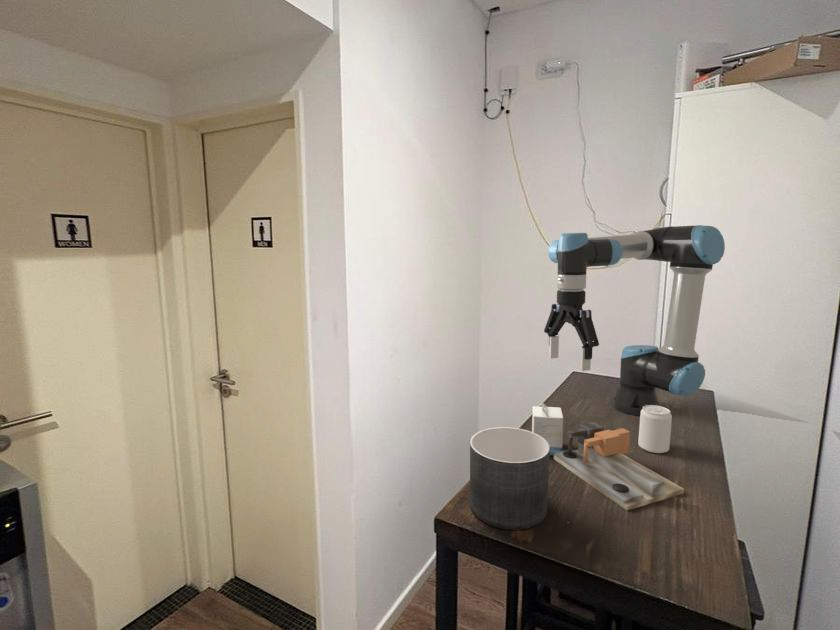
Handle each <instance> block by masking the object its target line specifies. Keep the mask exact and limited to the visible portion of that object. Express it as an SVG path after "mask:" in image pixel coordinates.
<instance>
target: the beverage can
mask: <svg viewBox="0 0 840 630" xmlns="http://www.w3.org/2000/svg"><path fill="white" fill-rule="evenodd" d="M672 419H673V416H672V413H671V410H670V409H669V408H667V407H664V406H661V405H660V406H656V405H646V406H644V407H643V409H642V410H641V413H640V416H639V428H638V439H637V440H638V443H637V444H638V446H639V447H640V448H641V449H642V450H644V451H647V452H650V453H653V454H654V453H655V454H663V453H667V452H669V450H670V444H671V434H672V433H671V431H672Z"/></svg>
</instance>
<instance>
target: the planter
mask: <svg viewBox="0 0 840 630" xmlns="http://www.w3.org/2000/svg"><path fill="white" fill-rule="evenodd" d="M550 456H551V455H550V446H549V444H548V442H547V441H546V440H545V439H544V438H543V437H541V436H539V435H538V434H535V433H533V432H532V431H531V430H528V429H523V428H519V427H508V426H503V427H502V426H499V427H498V426H497V427H490V428H485V429H482V430H480V431H478V432H476V433H474V434H473V435H472V436H471V438H470V440H469V507H470V510H471V512H472V513H473V514H474V516H475V517H476V518H477V519H479V520H480V521H482V522H483V523H485V524H487V525H488V526H492V527H495V528H497V529H503V530H510V531H520V530H521V531H523V530H527V529H531V528H534V527H536V526H538V525H540V524H541V523H542V522H543V521H544V520H545V519H546V518H547V515H548V494H549V493H548V491H549V479H550V478H549V477H550V475H549V473H550Z"/></svg>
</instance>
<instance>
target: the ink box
mask: <svg viewBox="0 0 840 630" xmlns="http://www.w3.org/2000/svg"><path fill="white" fill-rule="evenodd" d="M562 411H563V410H562V408H561V407H559V406H558V407H556V406H555V407H554V406H547V405H546V404H545V403H544V402H543V401H540V406H538V405H536V406H535V405H534V406H532V414H531V416H532V421H531V432H533V433H535V434H538V435H539V436H541V437H543V438H544V439H545V440H546V441H547V442H548V444H549V446H550V456H552V457H554V452H559V451H563V450H564V449H563V447H564V446H563V443H564V441H563V440H564V415H563V412H562Z"/></svg>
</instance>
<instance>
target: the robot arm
mask: <svg viewBox="0 0 840 630" xmlns="http://www.w3.org/2000/svg"><path fill="white" fill-rule="evenodd" d="M725 249H726V248H725V239H724V237H723V235H722V233H721V231H720V230H719V228H717V227H715V226H712V225H702V224H700V225H699V224H697V225H678V226H664V227H658V228H653V229H647V230H639V231H636V232H634V233H633V234H626V235H612V236H611V235H610V236H597V237H595V236H594V237H589V236H588V234H587V232H570V233H569V232H567V233H565V232H564V233H561V234H560V235H559V237H558V239H556V240H554V241H552V242H551V243H550V245H549V247H548V250H547V251H548V253H547V254H548V258H549V259H550V261H551V262H553V263H554V264H557V282H556V283H557V288H558V290H557V291H556V303H552V304H551V308H550V313H549V316H548V319H547V321H546V323H545V327H544V330H543V333H544V334H547V336H548V347H549V351H548V359H551V360H553V359H558V358H559V351H560V350H559V347H560V346H559V345H560V344H559V343H560V341H559V340H560V336H559V332H560V331H561V330H562V328H564V325H565V324H566V323H568V324H570V325H571V326H572V327H574V329H575V331H576V333H577V336H578V337H579V340H580V342H581V344H582V346H581V347H580V371H581V372H586V371H591V364H592V363H591V362H592V358H593V348H594V347H599V346H600V343H599V340H598V335H597V331H596V328H595V325H594V322H593V319H592V310H590V309H583V306H584V305H585V304H586V293H587V292H586V290H585V289H587V269H588V268H589V267H593V268H594V267H608V266H609V267H610V266H614V265H616V264H618V263H619V262H620V261H621V260H622V259H632V258H634V259H635V260H638V261H642V260H647V261H659V262H666V263H667V262H668V263H669V269H671V270H672V272H673V277H672V278H673V279H672V285H671V294H670V300H669V307H668V315H667V321H666V322H667V323H666V329H665V337H664V343H663V346H661V347H658V346H656V345H650V344H649V345H647V344H642V345H641V344H640V345H639V344H638V345H637V344H636V345H628V346H625V347H624V348H622V350H621V356H620V372H619V373H620V374H619V386H618V388H617V390H616V393H615V396H614V397H613V402H612V405H613V407H614V409H615V410H617V411H618V412H619V411H620V412H621V413H624V414H627V415H631V416H632V415H633V416H639V417H640V413H641V410H642V409H643V407H644V406H646V405H656V406H661V405H660V403H659V400H658V395H657V391H656V388H657V389H659V390H663V391H666V392H668V393H670V394H672V395H678V396H682V397H687V396H691V395H693V394H694V393H696V392H697V391H698V390H699V389H700V387H701V386H702V384H703V383H704V380H705V377H706V369H705V366H704V365H703V364H702V363H701V362H699V358H700V357H699V356H700V354H698V352H697V351H696V350H695V346H696V341H697V333H698V327H699V320H700V313H701V309H702V308H701V306H702V301H703V292H704V287H705V280H706V275H708V273H709V274H710V272H712V271H713V265H715V264H718V263H719V262H720V261H721V260H722V258H723V256H724V255H725Z"/></svg>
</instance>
